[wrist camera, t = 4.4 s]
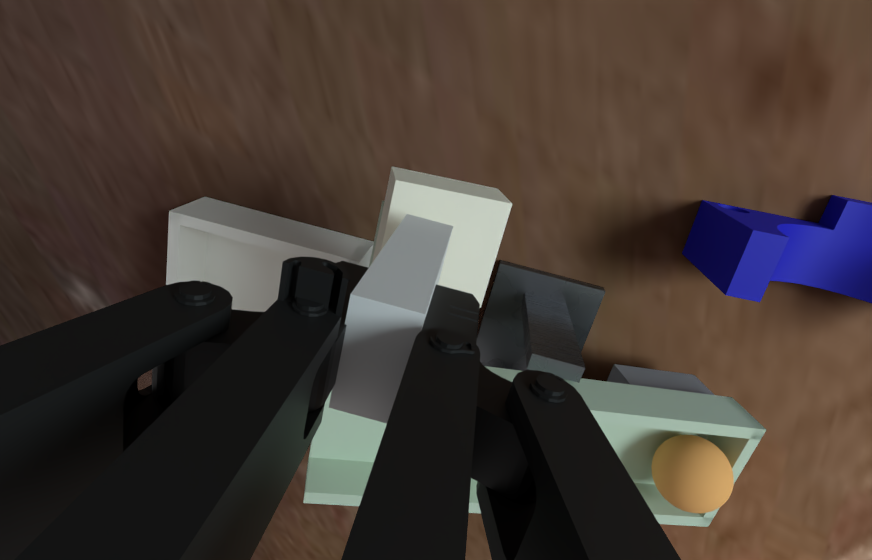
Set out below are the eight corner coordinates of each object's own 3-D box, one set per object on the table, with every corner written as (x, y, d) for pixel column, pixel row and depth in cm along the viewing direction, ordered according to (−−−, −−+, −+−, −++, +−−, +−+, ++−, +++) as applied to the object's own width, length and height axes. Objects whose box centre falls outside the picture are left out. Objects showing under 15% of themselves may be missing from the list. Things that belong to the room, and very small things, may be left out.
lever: (312, 420, 26) (303, 502, 22) (362, 144, 21) (364, 173, 16) (654, 452, 31) (708, 526, 26) (766, 231, 25) (859, 274, 21)
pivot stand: (452, 415, 33) (440, 504, 26) (500, 260, 29) (500, 317, 22) (542, 439, 33) (554, 536, 26) (603, 287, 29) (636, 353, 22)
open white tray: (195, 332, 33) (162, 360, 30) (204, 196, 30) (168, 210, 27) (347, 374, 33) (331, 406, 30) (374, 241, 30) (359, 261, 26)
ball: (626, 474, 26) (672, 533, 23) (653, 419, 25) (706, 474, 22) (679, 472, 27) (730, 528, 24) (708, 419, 26) (765, 471, 23)
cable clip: (950, 217, 26) (1072, 255, 20) (903, 298, 28) (1005, 353, 22) (711, 170, 26) (768, 195, 21) (680, 252, 28) (725, 294, 23)
